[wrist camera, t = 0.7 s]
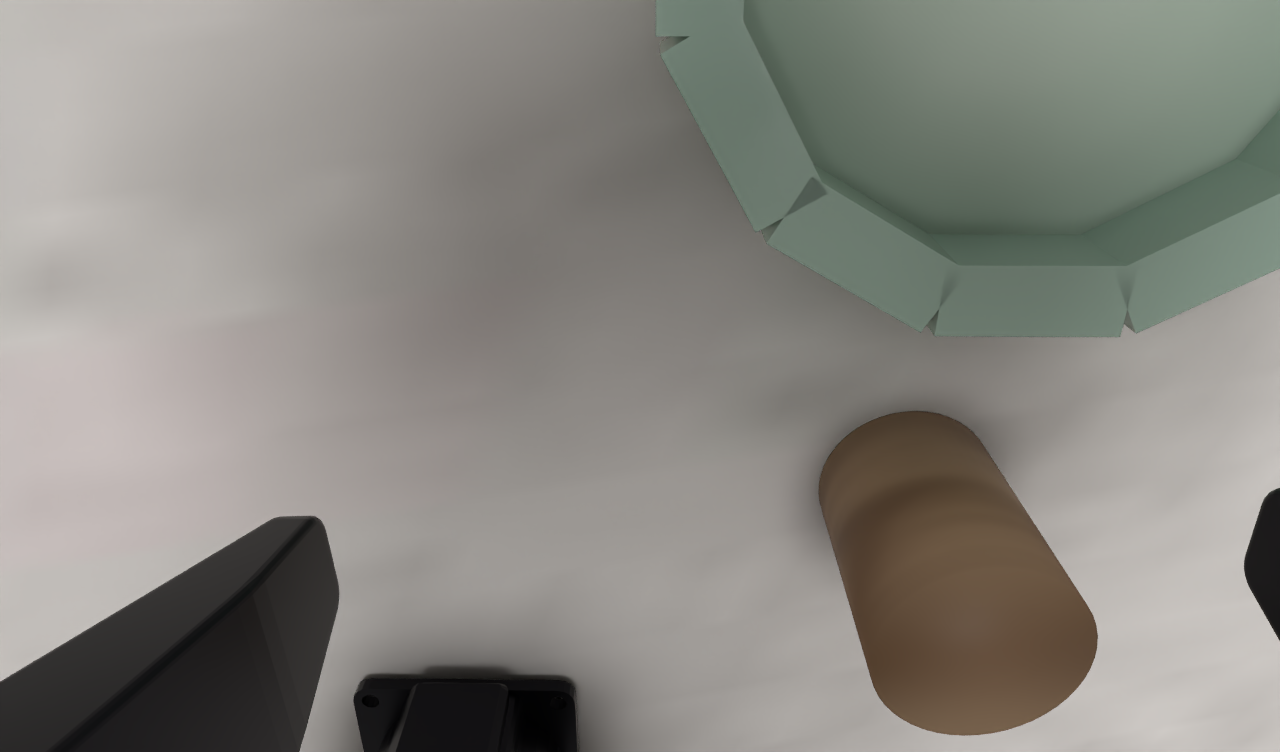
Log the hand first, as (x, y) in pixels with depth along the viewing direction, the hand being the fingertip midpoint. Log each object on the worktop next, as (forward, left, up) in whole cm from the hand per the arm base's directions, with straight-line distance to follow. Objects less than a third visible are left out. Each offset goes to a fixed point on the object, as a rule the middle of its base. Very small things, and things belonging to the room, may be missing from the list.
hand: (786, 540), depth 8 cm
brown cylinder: (-7, -5, -12) cm, 15 cm away
